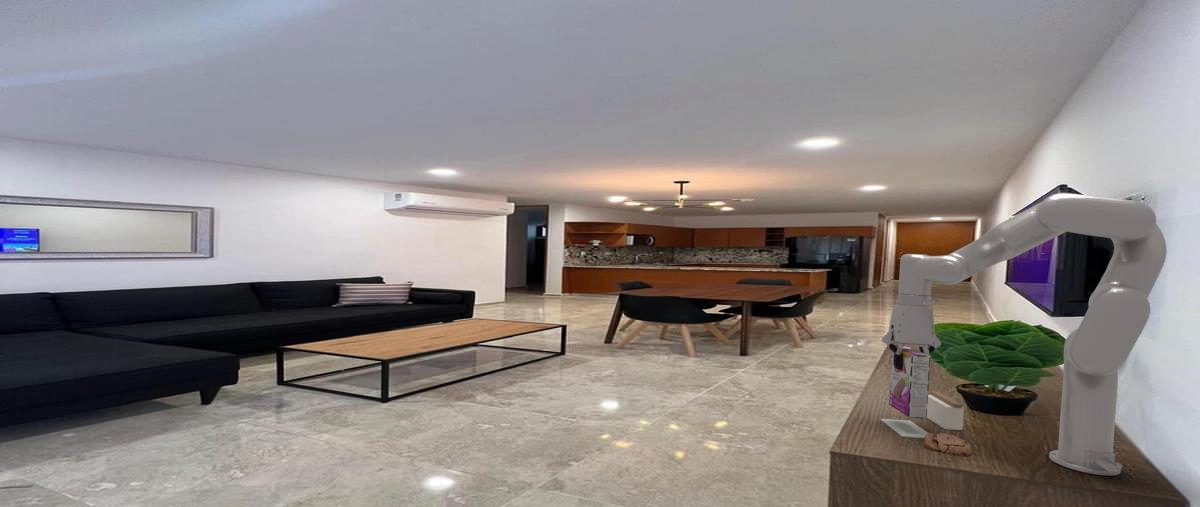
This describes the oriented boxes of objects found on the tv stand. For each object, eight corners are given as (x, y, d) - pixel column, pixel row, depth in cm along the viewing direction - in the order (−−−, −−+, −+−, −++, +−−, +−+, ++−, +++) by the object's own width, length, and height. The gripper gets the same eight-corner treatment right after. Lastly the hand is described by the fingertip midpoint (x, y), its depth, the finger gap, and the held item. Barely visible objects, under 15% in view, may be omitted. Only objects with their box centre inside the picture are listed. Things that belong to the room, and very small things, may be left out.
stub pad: (935, 439, 148) (935, 437, 148) (902, 436, 149) (902, 435, 149) (910, 421, 162) (910, 420, 162) (880, 419, 163) (880, 418, 163)
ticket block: (963, 430, 156) (965, 404, 156) (942, 429, 156) (944, 403, 156) (939, 415, 169) (940, 391, 168) (920, 414, 169) (921, 390, 169)
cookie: (961, 460, 135) (961, 447, 135) (914, 445, 144) (914, 433, 143) (980, 452, 141) (981, 440, 141) (934, 438, 149) (934, 427, 149)
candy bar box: (887, 405, 161) (891, 345, 160) (905, 406, 161) (909, 346, 160) (907, 418, 150) (912, 354, 149) (927, 419, 150) (932, 355, 149)
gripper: (940, 301, 157) (936, 368, 158) (874, 297, 159) (870, 364, 159) (955, 304, 150) (950, 375, 151) (886, 300, 151) (881, 371, 152)
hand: (909, 368), depth 155 cm, fingers closed on candy bar box, 5 cm apart
